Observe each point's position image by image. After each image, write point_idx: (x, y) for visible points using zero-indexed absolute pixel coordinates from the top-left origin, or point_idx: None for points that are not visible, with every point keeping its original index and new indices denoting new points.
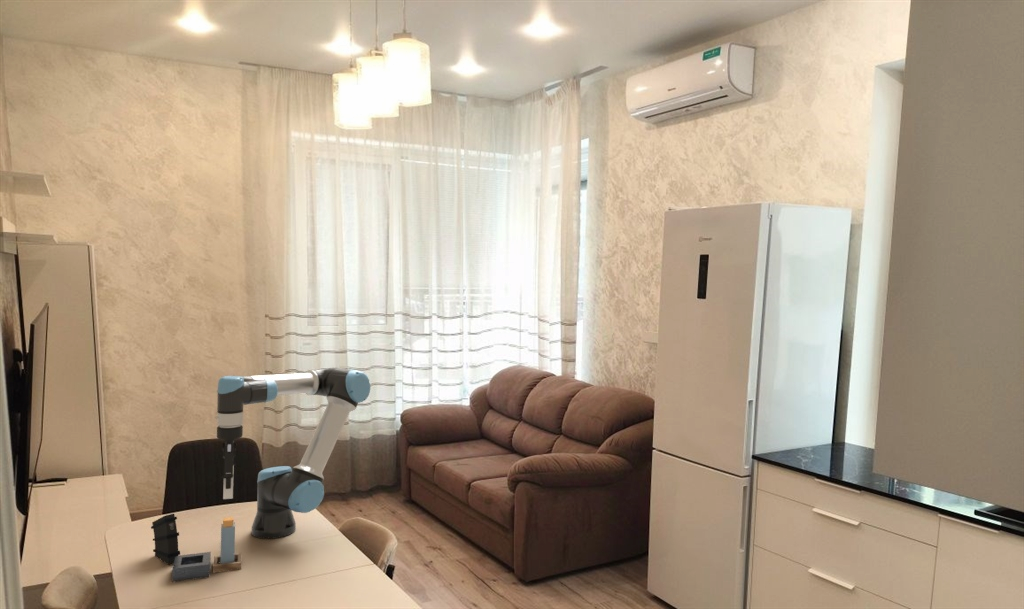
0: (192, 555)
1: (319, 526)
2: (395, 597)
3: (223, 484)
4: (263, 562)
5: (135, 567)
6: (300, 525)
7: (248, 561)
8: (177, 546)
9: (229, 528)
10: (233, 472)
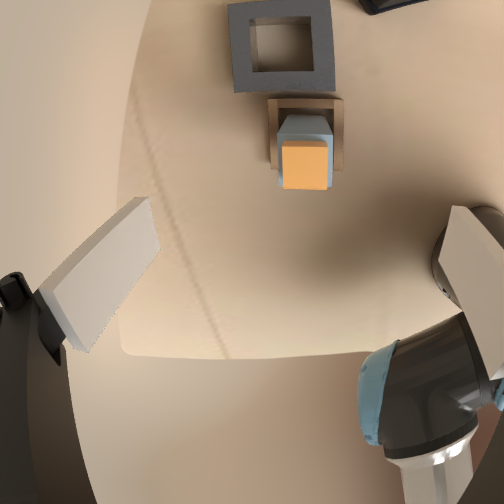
0: (319, 42)
1: None
2: (127, 350)
3: (73, 252)
4: (297, 215)
5: None
6: None
7: None
8: (380, 3)
9: (279, 163)
10: (473, 330)
